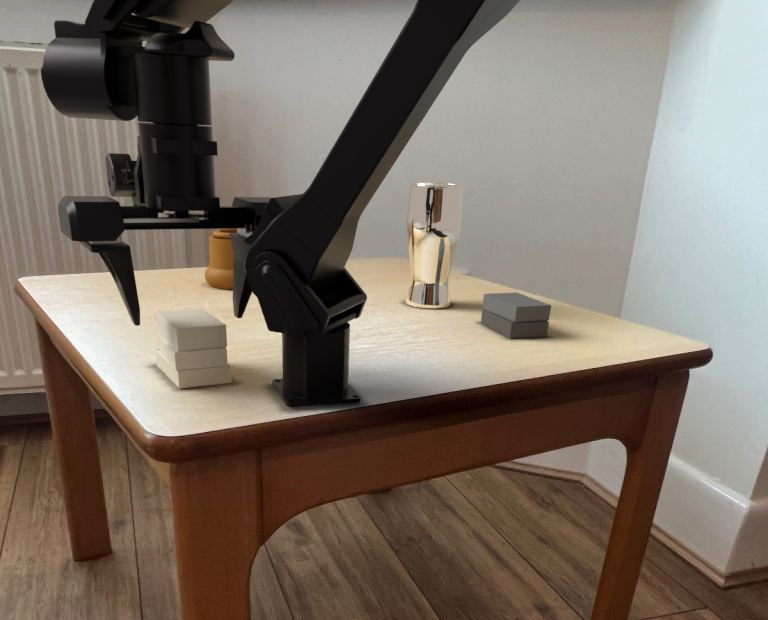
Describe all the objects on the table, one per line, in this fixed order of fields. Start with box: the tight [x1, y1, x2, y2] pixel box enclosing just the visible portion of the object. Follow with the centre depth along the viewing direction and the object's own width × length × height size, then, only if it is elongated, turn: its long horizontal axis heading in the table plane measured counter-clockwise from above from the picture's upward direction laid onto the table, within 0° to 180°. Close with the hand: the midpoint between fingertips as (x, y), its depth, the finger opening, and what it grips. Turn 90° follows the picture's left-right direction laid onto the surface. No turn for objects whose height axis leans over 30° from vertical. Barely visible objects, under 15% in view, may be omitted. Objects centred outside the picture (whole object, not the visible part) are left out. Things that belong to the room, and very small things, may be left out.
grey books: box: [480, 292, 552, 339], centre depth 90 cm, size 8×5×4 cm
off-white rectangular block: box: [154, 307, 228, 351], centre depth 67 cm, size 7×4×2 cm, turn 30°
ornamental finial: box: [204, 228, 237, 290], centre depth 104 cm, size 8×8×8 cm
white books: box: [154, 332, 233, 390], centre depth 68 cm, size 8×5×3 cm, turn 30°
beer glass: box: [405, 181, 464, 310], centre depth 98 cm, size 7×7×15 cm
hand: (188, 320), depth 67 cm, fingers open, 9 cm apart
